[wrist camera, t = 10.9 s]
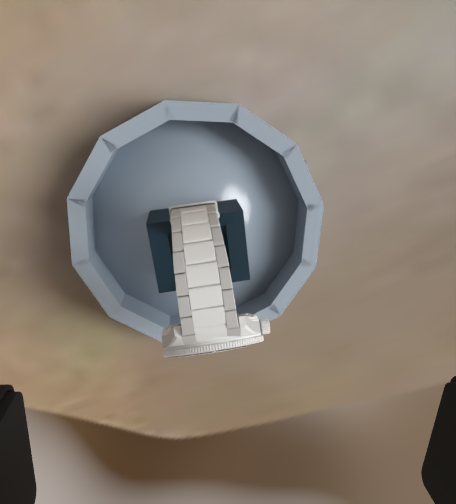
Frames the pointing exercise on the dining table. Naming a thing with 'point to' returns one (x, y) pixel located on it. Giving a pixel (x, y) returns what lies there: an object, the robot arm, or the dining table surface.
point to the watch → (203, 276)
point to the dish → (186, 192)
